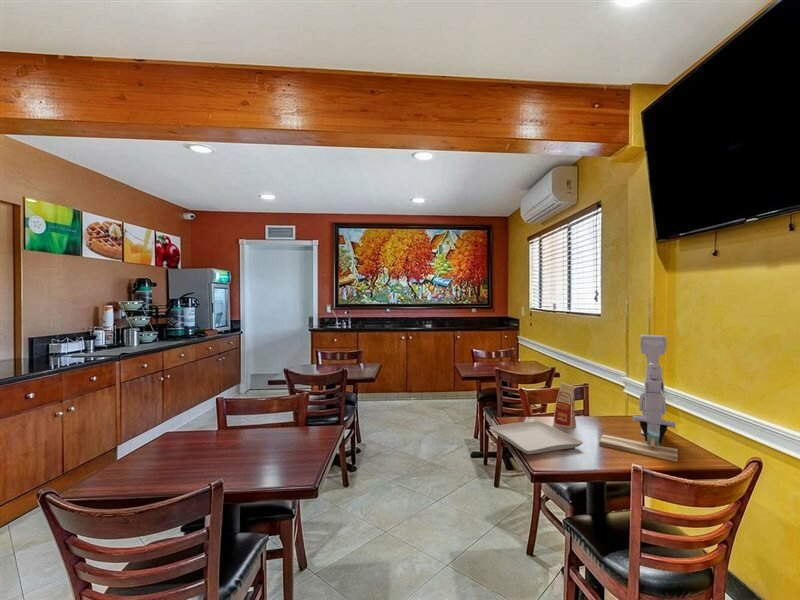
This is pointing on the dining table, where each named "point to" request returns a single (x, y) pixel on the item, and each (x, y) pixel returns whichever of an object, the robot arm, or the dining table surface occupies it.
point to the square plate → (535, 437)
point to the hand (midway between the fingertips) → (653, 441)
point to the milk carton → (565, 407)
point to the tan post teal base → (652, 438)
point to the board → (639, 447)
